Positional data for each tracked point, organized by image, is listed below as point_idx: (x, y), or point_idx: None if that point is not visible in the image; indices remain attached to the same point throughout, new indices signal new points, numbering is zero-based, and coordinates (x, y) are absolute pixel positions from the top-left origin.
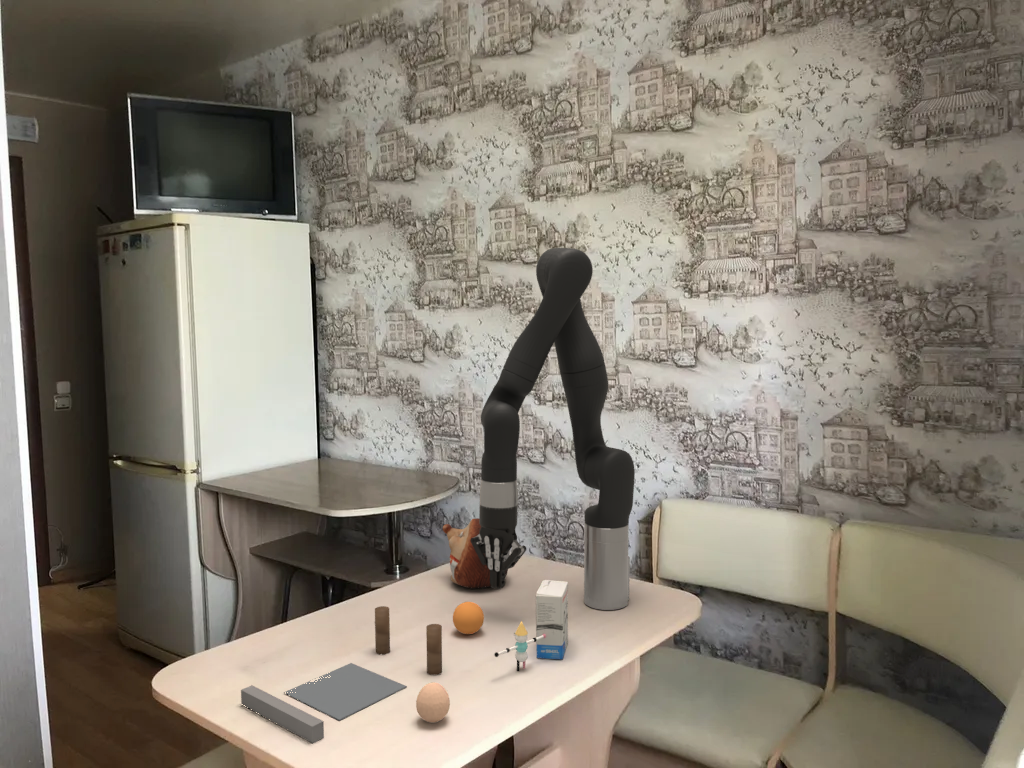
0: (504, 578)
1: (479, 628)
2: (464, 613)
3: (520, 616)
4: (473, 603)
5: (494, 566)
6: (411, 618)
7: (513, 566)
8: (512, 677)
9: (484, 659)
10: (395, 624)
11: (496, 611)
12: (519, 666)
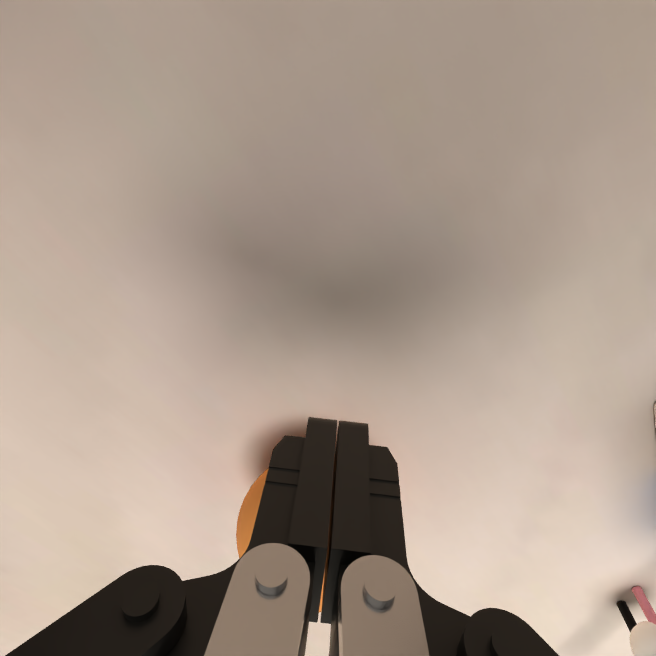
0: (398, 506)
1: None
2: None
3: (428, 213)
4: (322, 588)
5: (302, 653)
6: (38, 458)
7: (535, 638)
8: (615, 629)
9: (483, 585)
10: (49, 513)
11: (265, 220)
12: (632, 616)
